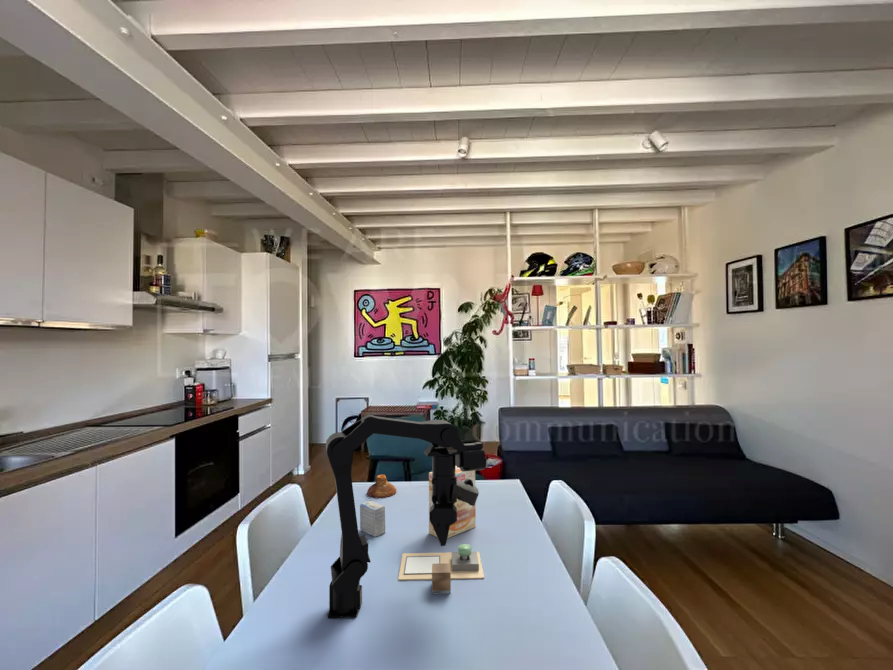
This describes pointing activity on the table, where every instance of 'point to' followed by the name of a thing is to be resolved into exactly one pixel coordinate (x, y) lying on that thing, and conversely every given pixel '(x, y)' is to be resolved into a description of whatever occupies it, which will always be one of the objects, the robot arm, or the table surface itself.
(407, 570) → the tan rectangular board
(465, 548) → the button
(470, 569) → the button housing
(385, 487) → the bell
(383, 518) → the medicine box
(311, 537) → the table surface
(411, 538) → the table surface
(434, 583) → the block
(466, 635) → the table surface
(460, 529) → the coffeecake box
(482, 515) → the table surface
